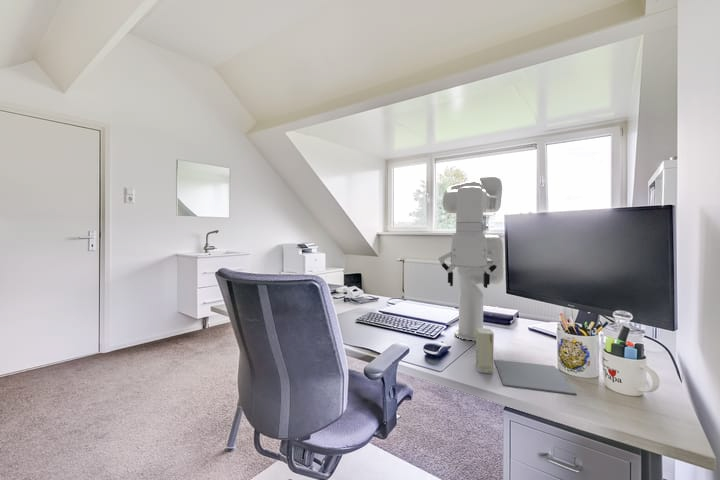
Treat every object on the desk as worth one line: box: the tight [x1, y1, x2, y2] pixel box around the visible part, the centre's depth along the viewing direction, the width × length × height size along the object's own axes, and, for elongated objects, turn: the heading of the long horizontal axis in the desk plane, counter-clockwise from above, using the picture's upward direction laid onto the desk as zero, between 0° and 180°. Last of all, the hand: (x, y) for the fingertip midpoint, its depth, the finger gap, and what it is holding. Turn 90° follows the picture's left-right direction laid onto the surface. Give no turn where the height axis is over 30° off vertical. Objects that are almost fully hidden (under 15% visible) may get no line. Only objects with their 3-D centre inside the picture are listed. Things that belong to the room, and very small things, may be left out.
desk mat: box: [493, 359, 577, 396], centre depth 96 cm, size 18×18×1 cm
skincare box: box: [475, 327, 495, 374], centre depth 100 cm, size 6×4×12 cm
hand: (468, 286), depth 95 cm, fingers open, 9 cm apart
